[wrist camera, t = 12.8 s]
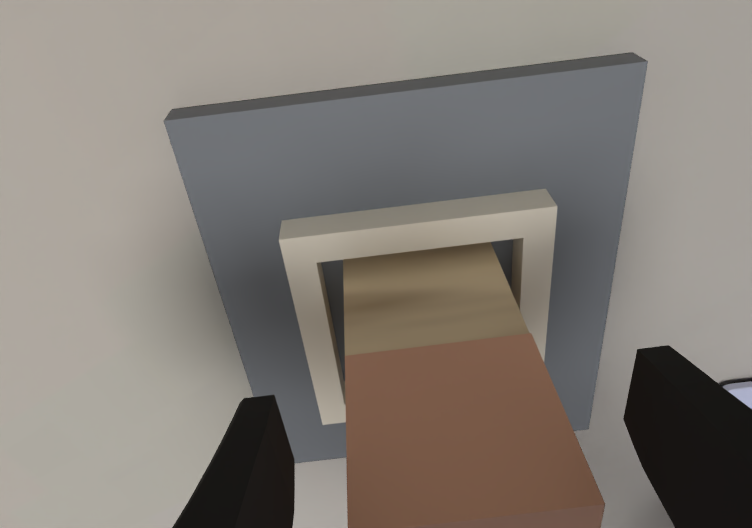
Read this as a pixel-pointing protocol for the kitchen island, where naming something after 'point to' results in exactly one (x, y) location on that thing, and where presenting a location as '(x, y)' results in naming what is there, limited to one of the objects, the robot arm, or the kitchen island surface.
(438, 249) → the oak block
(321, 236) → the slate baseplate
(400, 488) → the terracotta block
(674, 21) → the kitchen island surface
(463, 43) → the kitchen island surface
